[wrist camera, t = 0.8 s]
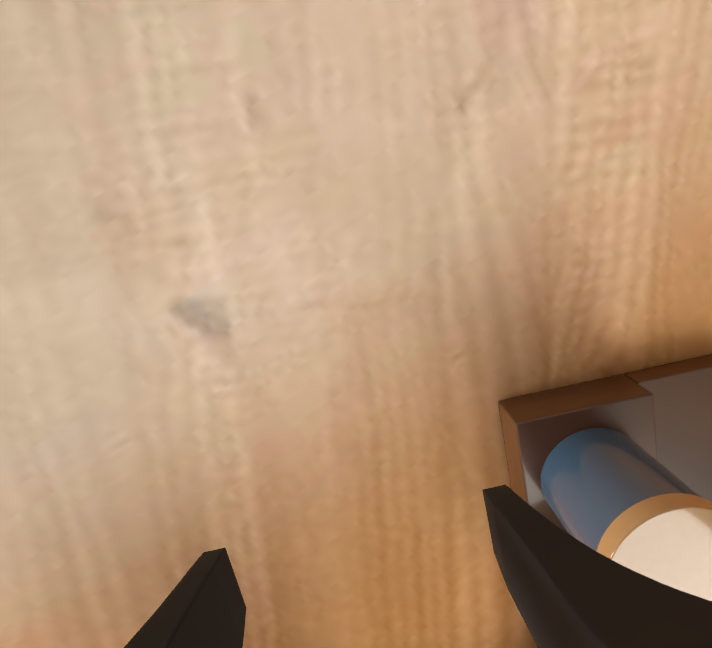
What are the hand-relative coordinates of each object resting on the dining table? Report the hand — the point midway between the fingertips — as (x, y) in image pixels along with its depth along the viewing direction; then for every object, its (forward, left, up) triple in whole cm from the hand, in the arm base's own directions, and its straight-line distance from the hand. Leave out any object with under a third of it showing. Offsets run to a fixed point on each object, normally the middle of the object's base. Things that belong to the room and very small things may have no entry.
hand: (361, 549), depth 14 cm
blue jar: (-5, -10, -8) cm, 13 cm away
